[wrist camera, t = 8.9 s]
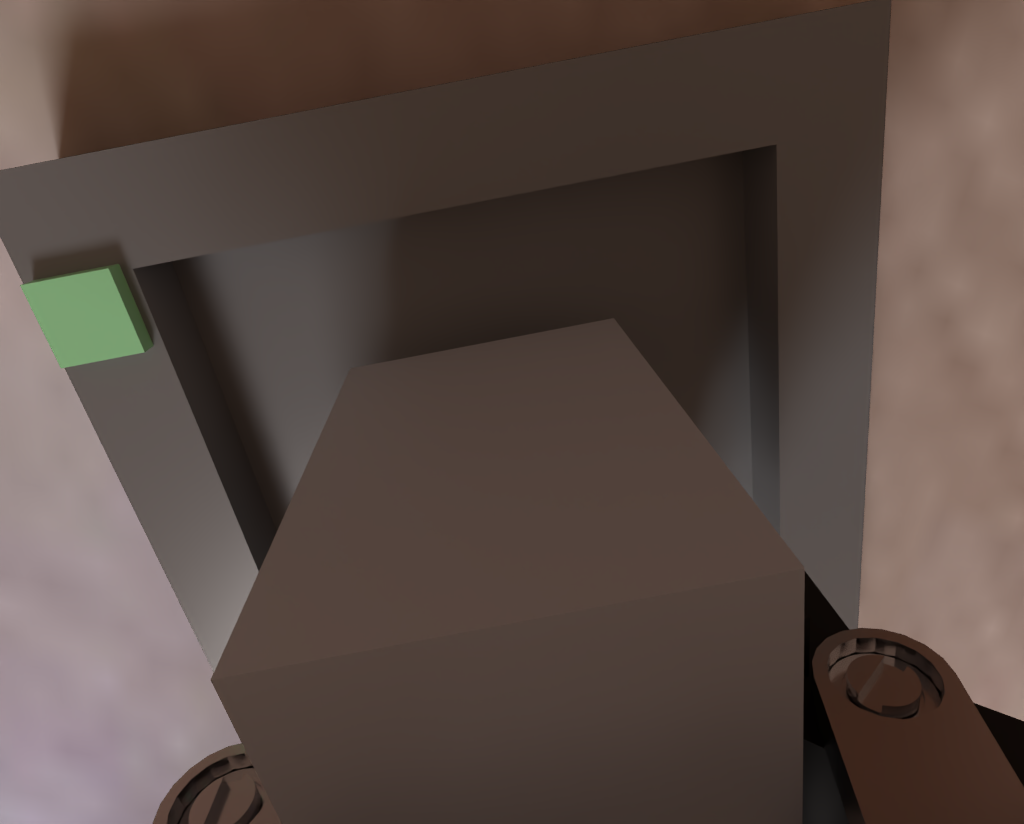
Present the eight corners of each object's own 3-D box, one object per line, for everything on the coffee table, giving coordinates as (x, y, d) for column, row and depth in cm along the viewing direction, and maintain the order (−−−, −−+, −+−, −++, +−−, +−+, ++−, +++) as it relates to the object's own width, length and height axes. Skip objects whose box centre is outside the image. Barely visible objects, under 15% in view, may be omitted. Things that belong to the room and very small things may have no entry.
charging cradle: (815, 18, 10) (905, -7, 8) (807, 678, 16) (858, 762, 14) (56, 165, 10) (-47, 177, 8) (320, 769, 16) (298, 867, 14)
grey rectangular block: (623, 316, 10) (827, 563, 4) (662, 664, 13) (813, 1077, 7) (350, 368, 10) (210, 680, 4) (449, 703, 13) (440, 1144, 7)
